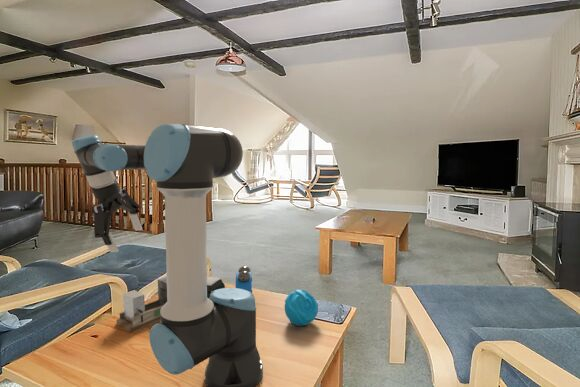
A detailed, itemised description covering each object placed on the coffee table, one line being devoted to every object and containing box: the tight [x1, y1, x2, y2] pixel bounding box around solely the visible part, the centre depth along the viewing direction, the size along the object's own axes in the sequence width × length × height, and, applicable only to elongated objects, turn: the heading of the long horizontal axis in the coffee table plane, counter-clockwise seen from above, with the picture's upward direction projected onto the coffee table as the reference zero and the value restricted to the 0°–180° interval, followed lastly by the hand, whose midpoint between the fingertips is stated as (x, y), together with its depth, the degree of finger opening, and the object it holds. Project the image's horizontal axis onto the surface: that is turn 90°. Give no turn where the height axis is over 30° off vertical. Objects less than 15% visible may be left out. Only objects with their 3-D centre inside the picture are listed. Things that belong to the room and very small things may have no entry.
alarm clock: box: [235, 265, 253, 294], centre depth 130 cm, size 13×6×15 cm, turn 6°
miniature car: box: [207, 276, 226, 298], centre depth 137 cm, size 9×18×8 cm, turn 162°
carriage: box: [122, 289, 146, 323], centre depth 115 cm, size 9×4×9 cm, turn 52°
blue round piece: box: [284, 289, 319, 327], centre depth 116 cm, size 12×11×12 cm
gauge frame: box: [116, 276, 167, 333], centre depth 120 cm, size 10×20×12 cm, turn 142°
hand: (127, 240), depth 114 cm, fingers open, 13 cm apart
